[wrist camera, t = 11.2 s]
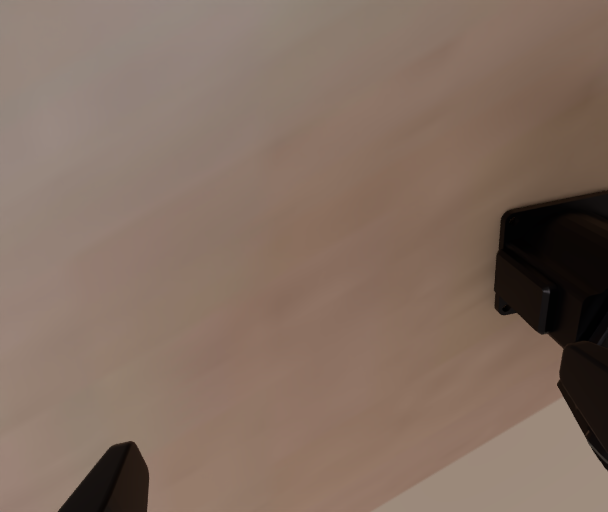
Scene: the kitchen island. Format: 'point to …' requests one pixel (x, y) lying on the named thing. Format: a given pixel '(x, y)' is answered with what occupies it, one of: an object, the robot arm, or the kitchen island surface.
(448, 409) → the kitchen island surface
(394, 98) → the kitchen island surface
